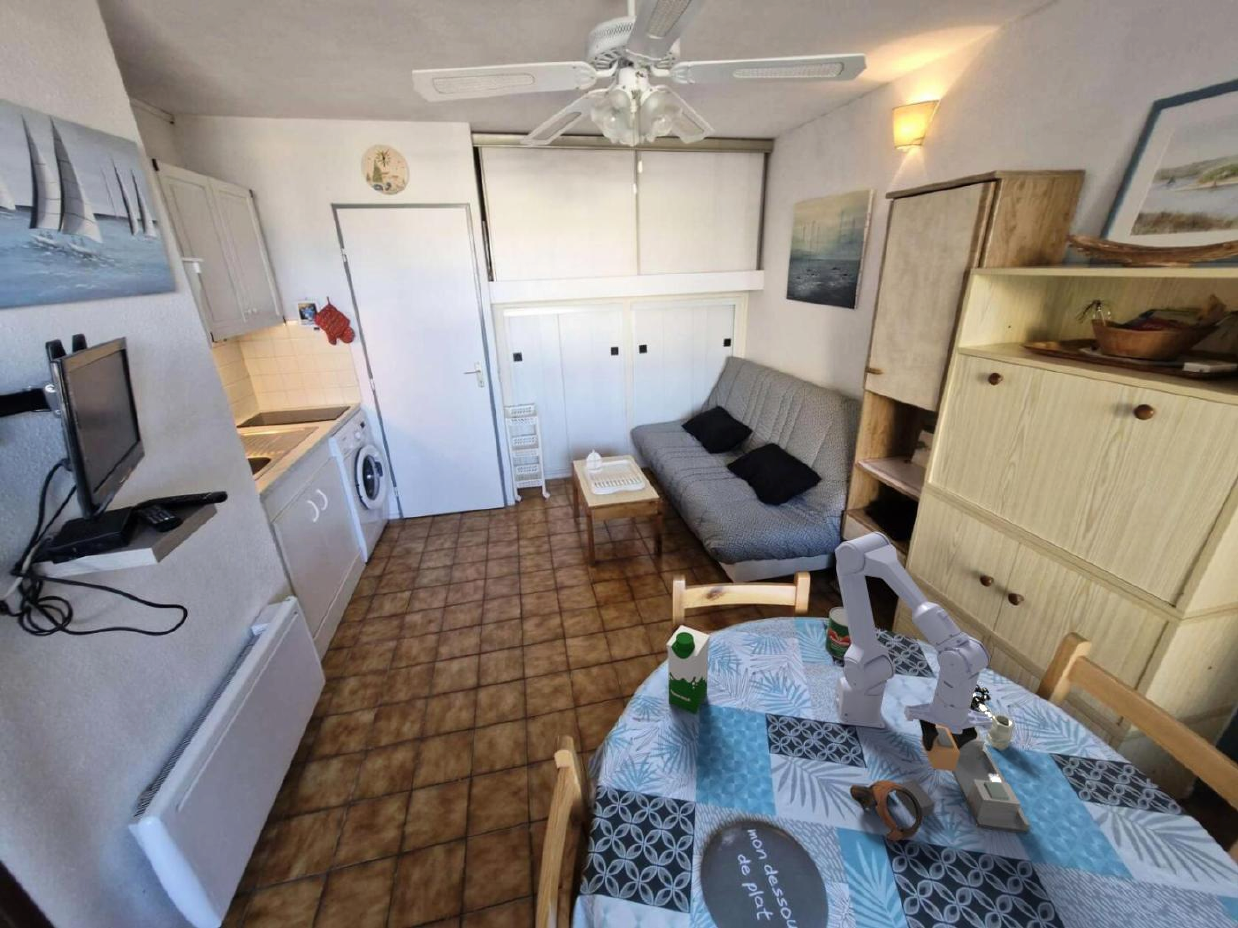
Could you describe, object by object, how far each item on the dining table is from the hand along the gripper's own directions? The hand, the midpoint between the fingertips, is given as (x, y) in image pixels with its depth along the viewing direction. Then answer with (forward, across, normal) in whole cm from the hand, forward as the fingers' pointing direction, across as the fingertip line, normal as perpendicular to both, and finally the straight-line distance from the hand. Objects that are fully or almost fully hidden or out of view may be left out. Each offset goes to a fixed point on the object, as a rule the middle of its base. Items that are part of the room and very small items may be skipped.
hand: (938, 747), depth 100 cm
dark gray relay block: (+8, -6, -7) cm, 12 cm away
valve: (+8, +16, +13) cm, 22 cm away
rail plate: (+7, +8, 0) cm, 11 cm away
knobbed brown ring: (+8, -12, -10) cm, 18 cm away
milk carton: (+8, -50, +13) cm, 52 cm away
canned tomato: (+8, -10, +35) cm, 37 cm away
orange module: (+2, 0, 0) cm, 2 cm away
